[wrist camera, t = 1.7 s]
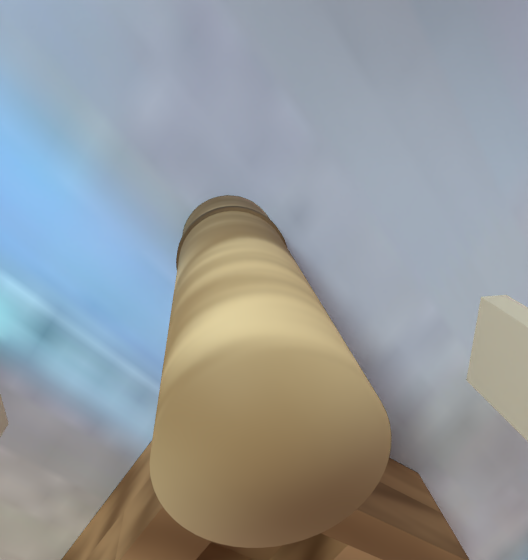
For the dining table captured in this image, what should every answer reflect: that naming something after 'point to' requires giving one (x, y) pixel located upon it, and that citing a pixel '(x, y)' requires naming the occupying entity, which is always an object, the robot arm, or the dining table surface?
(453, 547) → the board
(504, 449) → the dining table surface
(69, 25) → the dining table surface
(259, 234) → the beech peg
